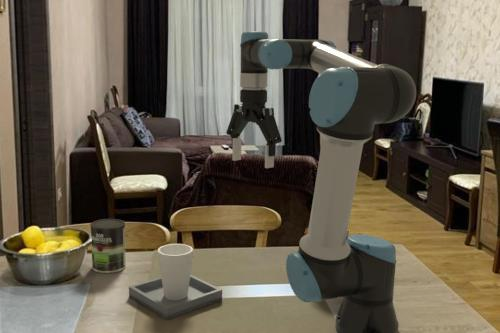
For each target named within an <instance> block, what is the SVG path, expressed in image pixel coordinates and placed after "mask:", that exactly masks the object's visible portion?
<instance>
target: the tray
mask: <svg viewBox="0 0 500 333" xmlns="http://www.w3.org/2000/svg"><path fill="white" fill-rule="evenodd" d="M128 297H129V298H130V299H131V300H133V301H134V302H136V303H138V304H140V305H141V306H143V307H144V308H147V309H149V311H152V312H153V313H155V314H156V315H158V316H160V317H162V318H163V319H165V320H171V319H173V318H176V317H179V316H181V315H185V314H187V313H189V312H193V311H195V310H198V309H201V308H203V307H206V306H209V305H212V304H214V303H215V304H216V303H218V302H221V301H223V289H221V288H220V287H217V286H215V285H213V284H211V283H209V282H207V281H205V280H203V279H201V278H199V277H196V275H195V276H194V275H193V274H191V273H190V281H189V289H188V295H187V297H186V298H183V299H180V300H170V299H167V298H165V296H164V291H163V285H162V278H161V276H160V277H157V278H153V279H150V280H147V281H146V280H145V281H144V282H139V283H137V284H133V285H130V286H128Z"/></svg>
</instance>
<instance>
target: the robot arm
mask: <svg viewBox="0 0 500 333" xmlns="http://www.w3.org/2000/svg"><path fill="white" fill-rule="evenodd" d="M240 36H241V37H240V45H239V46H240V76H239V78H240V79H239V87H240V88H241V89H240V92H239V102H240V103H236V104H234V105H233V113H232V116H231V118H230V120H229V124H228V126H227V128H226V132H225V133H226V135H228V136H230V139H231V149H232V153H231V154H232V158H231V159H232V161H233V162H235V161H236V162H237V161H241V160H242V137H241V136H242V135H241V134H242V133H243V131H244V130H245V128H246V127H247V125H248V123H249V122H250V123H253V124H256V125H257V126H258V127H259V130H260V132H261V133H262V136H263V137H264V140H265V141H266V143H265V146H264V168H265V169H270V168H275V167H274V166H275V156H276V147H277V146H276V145H277V144H279V143H280V144H281V143H282V141H283V140H282V136H281V134H280V131H279V127H278V125H277V121H276V118H275V112H274V107H266V103H267V102H268V90H267V89H266V88H267V87H268V75H269V74H268V72H269V70H281V69H308V70H309V69H310V70H312V71H314V72H316V73H319V74H318V76H317V77H316V78H315V79H314V82H313V83H312V86H311V89H310V92H309V96H308V97H309V98H308V108H309V109H310V111H309V115H310V118H311V121H312V122H313V123H314V124H315V125H316V131H317V132H318V133H319V135H320V136H321V137H322V138H321V139H322V140H321V145H320V152H319V157H318V158H319V159H318V163H317V164H318V165H317V172H316V178H315V185H314V190H313V191H314V192H313V198H312V204H311V211H310V218H309V223H308V228H309V229H308V234H307V235H305V236H304V235H303V236H302V237H301V238H300V240H299V244H298V251H292V252H291V253H290V254H288V255H287V257H286V262H285V268H286V269H285V270H286V276H287V280H288V282H289V285H290V286H289V287H291V290H292V292H293V294H294V295H295V296H296V297H297V298H298V299H299V300H300V301H301V302H303V303H314V302H317V303H320V302H322V301H325V300H332V299H336V298H342V297H343V299H342V302H341V304H340V306H339V308H338V312H337V314H336V316H335V330H336V331H337V333H399V327H400V326H399V321H398V317H397V313H396V310H395V305H394V291H395V274H396V264H397V258H396V257H397V250H396V247H395V245H394V244H393V243H392V242H391V241H388V240H386V239H384V238H381V237H377V236H374V235H373V236H372V235H368V234H362V235H359V234H360V233H358V234H350V235H348V238H347V240H346V236H347V231H348V230H349V224H350V219H351V214H352V208H353V203H354V197H355V192H356V191H355V190H356V186H357V182H358V181H357V180H358V175H359V169H360V163H361V160H362V159H361V158H362V154H363V148H364V144H365V143H367V142H369V141H370V140H371V139H372V138H373V135H374V134H373V133H374V130H375V125H379V124H388V123H389V124H390V123H394V122H396V121H399V120H401V119H402V118H404V117H405V116H406V115H407V114H409V112H410V111H411V110H412V108H413V106H414V105H415V102H416V98H417V86H416V83H415V81H414V79H413V78H412V76H411V75H410V74H409V73H408V72H406V70H404V69H402V68H399V67H396V66H394V65H393V64H392V65H391V64H388V63H381V64H377V63H374V62H372V61H368V60H366V59H364V58H361V57H359V56H357V55H353V54H352V53H349V52H347V51H344V50H341V49H339V48H337V45H335V43H334V42H333V41H332V40H325V39H320V38H319V39H289V38H288V39H286V38H285V39H284V38H282V39H281V38H274V37H273V38H269V34H268V32H267V31H243V32H242V33H241V35H240ZM268 69H269V70H268Z"/></svg>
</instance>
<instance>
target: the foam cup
mask: <svg viewBox="0 0 500 333" xmlns="http://www.w3.org/2000/svg"><path fill="white" fill-rule="evenodd" d="M193 259H194V248H193V247H192V246H190V245H189V244H184V243H169V244H164V245H162V246H159V248H157V260H158V263H159V264H158V265H159V272H160V275H161V276H160V277H161V278H162V285H163V291H164V296H165V298H167V299H170V300H180V299H183V298H186V297H187V295H188V289H189V281H190V274H191V272H192V271H191V270H192V265H193Z"/></svg>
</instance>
